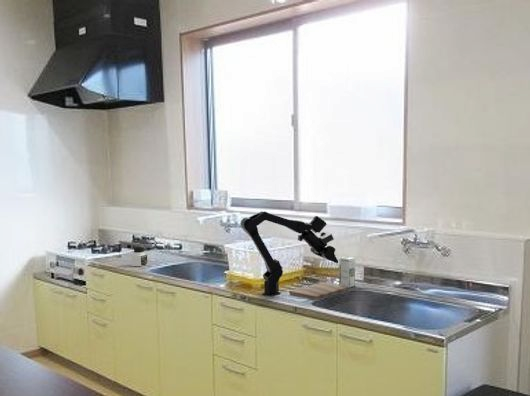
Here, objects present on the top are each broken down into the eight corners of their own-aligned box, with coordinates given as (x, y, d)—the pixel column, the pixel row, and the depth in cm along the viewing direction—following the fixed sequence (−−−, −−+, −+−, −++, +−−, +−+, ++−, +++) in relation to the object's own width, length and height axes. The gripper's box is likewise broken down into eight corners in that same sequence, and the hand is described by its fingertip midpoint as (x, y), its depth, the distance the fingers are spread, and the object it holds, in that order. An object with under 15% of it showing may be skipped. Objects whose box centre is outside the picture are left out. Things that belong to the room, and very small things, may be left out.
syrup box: (345, 284, 267) (344, 256, 266) (355, 286, 263) (355, 257, 262) (339, 286, 263) (338, 257, 262) (349, 288, 259) (349, 259, 258)
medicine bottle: (141, 267, 325) (140, 247, 324) (131, 266, 327) (130, 247, 326) (147, 264, 331) (147, 245, 331) (137, 264, 334) (137, 245, 333)
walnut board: (315, 299, 239) (315, 296, 238) (289, 294, 250) (289, 291, 250) (348, 290, 255) (348, 287, 255) (322, 285, 267) (322, 282, 267)
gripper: (331, 229, 248) (352, 251, 252) (315, 225, 266) (336, 246, 270) (315, 247, 247) (338, 269, 251) (301, 242, 264) (322, 262, 268)
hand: (333, 261), depth 260 cm, fingers open, 9 cm apart
